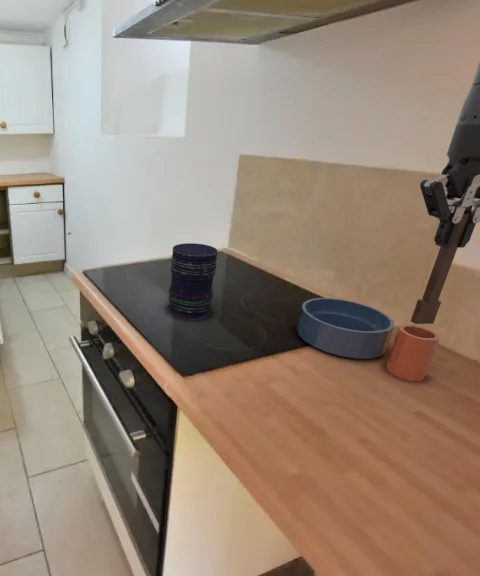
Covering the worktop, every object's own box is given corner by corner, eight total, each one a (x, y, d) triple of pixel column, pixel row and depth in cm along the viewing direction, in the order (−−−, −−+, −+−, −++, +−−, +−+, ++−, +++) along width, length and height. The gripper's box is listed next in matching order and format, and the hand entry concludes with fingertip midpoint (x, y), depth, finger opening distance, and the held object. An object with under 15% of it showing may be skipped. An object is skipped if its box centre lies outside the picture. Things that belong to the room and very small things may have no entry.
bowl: (352, 322, 83) (359, 297, 81) (404, 361, 69) (415, 332, 67) (283, 322, 83) (288, 297, 81) (321, 361, 69) (328, 332, 67)
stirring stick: (427, 320, 63) (467, 212, 56) (434, 324, 62) (475, 214, 55) (409, 320, 63) (446, 212, 56) (415, 324, 62) (455, 214, 55)
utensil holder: (408, 364, 68) (422, 324, 65) (431, 381, 64) (448, 340, 61) (379, 364, 68) (392, 324, 65) (400, 381, 64) (415, 340, 61)
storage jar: (160, 312, 88) (164, 250, 82) (177, 298, 96) (182, 241, 90) (202, 323, 83) (209, 258, 77) (216, 307, 90) (224, 247, 85)
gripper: (468, 121, 47) (423, 254, 54) (578, 120, 47) (520, 253, 54) (421, 122, 54) (386, 240, 61) (516, 121, 54) (471, 239, 61)
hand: (449, 245), depth 57 cm, fingers closed on stirring stick, 1 cm apart
